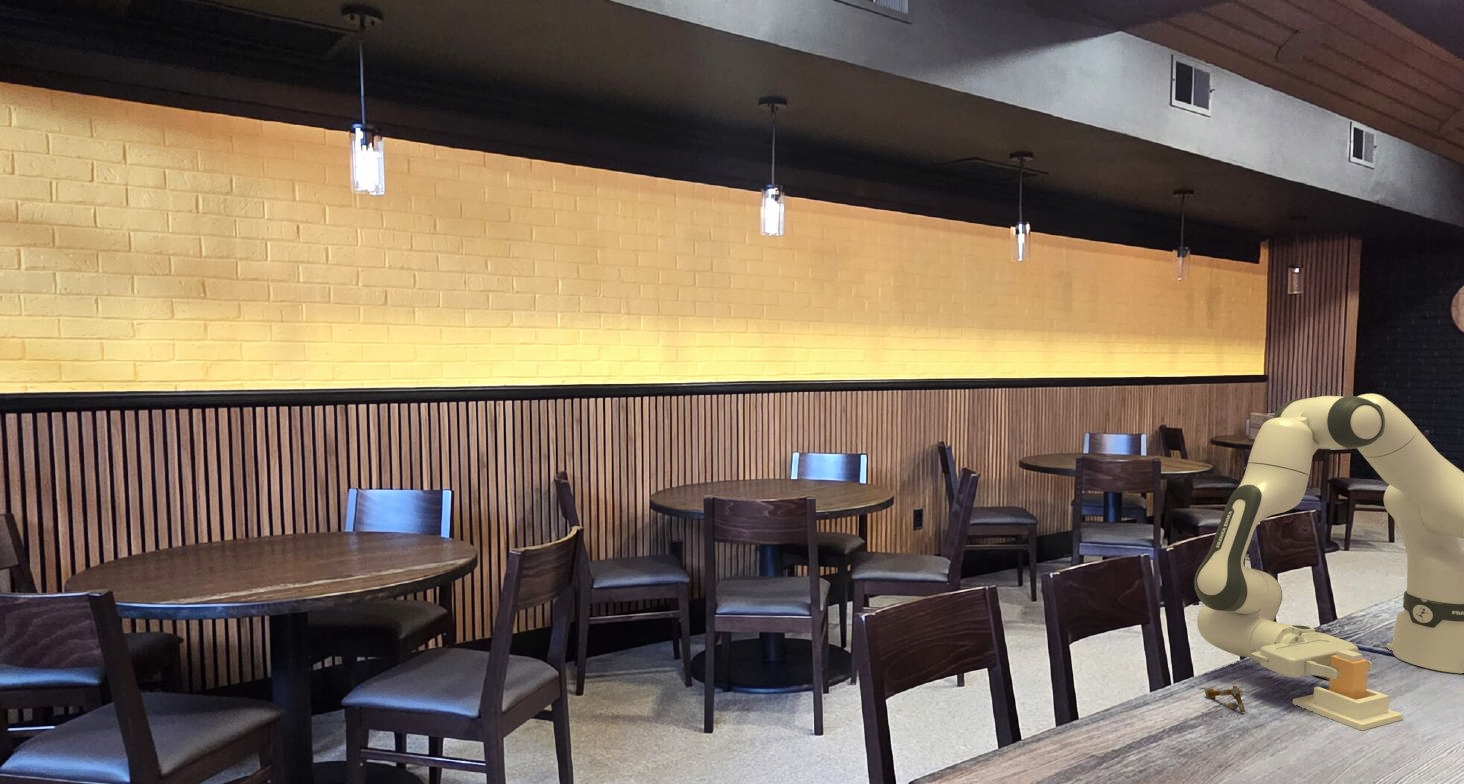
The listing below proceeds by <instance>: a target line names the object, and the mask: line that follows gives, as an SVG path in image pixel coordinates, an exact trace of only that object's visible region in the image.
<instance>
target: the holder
mask: <svg viewBox="0 0 1464 784" xmlns="http://www.w3.org/2000/svg"><path fill="white" fill-rule="evenodd" d="M1389 703H1390V695H1387V694H1385V693H1382V692H1379V691H1375V690H1373V689H1370V688H1367V687H1366V697H1365V698H1361V699H1357V700H1355V699H1352V698H1349V697H1346V696H1343V695H1341V694H1338V693H1335V692H1332V691H1329V689H1326V688H1323V687H1321V686H1315V687H1314V688H1313V694H1310V695H1306V696H1300V697H1296V698H1293V699H1292V705H1293V704H1294V705H1293V706H1296V705H1298V706H1300V707H1299V708H1301V707H1302V709H1304V708H1306V709H1307V711H1310V712H1311V711H1313V712H1312V713H1315V714H1317V715H1319V714H1320V715H1319V716H1322V717H1324V716H1326V717H1325V718H1327V717H1328V719H1329V720H1332V719H1333V720H1332V721H1336V722H1337V723H1339V724H1340V723H1341V724H1343V725H1346V726H1349V727H1351V728H1354V729H1356V730H1359V731H1361V732H1362V731H1365V730H1370V729H1372V728H1376V727H1380V726H1384V725H1387V724H1388V725H1389V724H1391V723H1397V722H1399V721H1403V719H1404V718H1403V717H1404V714H1402V713H1401V712H1397V711H1395V710H1392V709H1390V708H1389ZM1298 706H1297V707H1298ZM1306 709H1305V710H1306Z"/></svg>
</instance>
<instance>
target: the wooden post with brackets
mask: <svg viewBox="0 0 1464 784" xmlns="http://www.w3.org/2000/svg"><path fill="white" fill-rule="evenodd" d="M1242 692H1243V689H1242V688H1241V687H1238V686H1237V685H1233V686H1232V688H1230V689H1229V688H1228V689H1221V690H1215V689H1214V688H1212V687H1211V688H1204V694H1205V698H1206V699H1216V698H1217V696H1232V697H1233V698H1234V699H1235V700H1236V702H1231V703H1230V702H1229V703H1227V705H1226V707H1227V708H1228V709H1229V708H1231V709H1232V710H1237V709H1238V708H1239V712H1240V713H1246V709H1245V704H1244V703H1243V700H1242V697H1241V694H1243V693H1242Z"/></svg>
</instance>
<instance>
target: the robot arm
mask: <svg viewBox="0 0 1464 784" xmlns="http://www.w3.org/2000/svg"><path fill="white" fill-rule="evenodd" d="M1344 448H1346V449H1357V450H1358V451H1359V453H1360V454H1361V455H1362V456H1363V457H1364V458H1365V459H1364V460H1366V461H1367V462H1368V463H1369V465H1370V466H1371V467H1372V468H1373V469H1374V470H1375V472H1376V473H1377V474H1378V476H1379V477H1380V478H1381V479H1382V480H1383V481H1384V482H1385V483H1386V484H1387V485H1388V486H1387V487H1386V489H1385V492H1384V494H1383V505H1384V508H1385V510H1386V512H1387V513H1388V514H1389V515H1390V516H1391V517H1392V519H1393V520H1394V521H1395V523H1396V525H1397V527H1398V529H1399V532H1400V534H1401V536H1402V537H1401V538H1402V539H1403V543H1404V547H1405V552H1406V559H1407V561H1406V562H1407V566H1406V567H1407V569H1406V571H1407V577H1406V590H1405V591H1404V593H1403V597H1402V602H1403V603H1402V608H1403V609H1404V610H1403V611H1401V612H1399V613H1397V614H1396V619H1395V625H1394V631H1393V637H1392V642H1387V643H1386V647H1387V648H1388V649H1389V650H1388V649H1387V648H1386V647H1385V648H1386V649H1387V650H1388V651H1390V650H1392V651H1393V652H1392V651H1391V652H1392V654H1393V656H1395V657H1396V658H1397V659H1399V660H1401V661H1403V662H1406V663H1409V664H1411V665H1415V666H1419V667H1422V668H1425V669H1429V670H1434V671H1438V672H1445V673H1452V674H1462V673H1464V550H1463V548H1462V546H1461V545H1460V541H1459V539H1464V471H1462V470H1461V469H1460V468H1458V467H1457V466H1455V465H1454V464H1453V463H1451V462H1450V461H1449V460H1448V459H1446V458H1445V457H1444V455H1441V453H1440V452H1438V451H1437V449H1435V447H1434V446H1433V445H1432V444H1431V443H1430V442H1429V440H1428V439H1427V438H1426V437H1425V435H1424V434H1423V433H1422V432H1421V431H1420V430H1419V429H1418V427H1417V426H1416V425H1415V424H1414V423H1413V421H1412V420H1411V419H1410V418H1409V417H1408V416H1407V415H1406V414H1405V413H1404V412H1403V411H1402V410H1401V409H1400V408H1399V407H1398V406H1396V405H1395V404H1394V403H1393V402H1392V401H1390V400H1389V399H1387V398H1386V397H1385V396H1383V395H1381V394H1377V393H1365V394H1360V395H1358V396H1354V395H1347V396H1346V395H1345V396H1340V395H1339V396H1337V395H1323V396H1322V395H1321V396H1316V397H1309V398H1308V397H1307V398H1295V399H1292V400H1288V401H1286V402H1284V403H1282V404H1281V405H1280V406H1279V407H1278V408H1277V409H1276V411H1275V412H1274V415H1273V416H1272V418H1269V419H1268V420H1266V421H1265V422H1264V423H1263V424H1262V425H1261V427H1260V429H1259V431H1258V433H1257V434H1256V436H1255V439H1254V442H1253V444H1252V448H1251V450H1250V454H1249V457H1248V460H1247V465H1246V469H1245V472H1244V475H1243V478H1242V480H1241V482H1240V483H1239V485H1238V487H1237V488H1235V490H1234V491H1233V492H1232V494H1231V495H1230V496H1229V498H1228V501H1227V503H1226V505H1225V507H1224V511H1223V514H1222V516H1221V518H1220V521H1219V523H1218V526H1217V529H1216V532H1215V534H1214V538H1213V541H1212V543H1211V545H1210V547H1209V551H1208V553H1207V555H1206V556H1205V558H1204V560H1202V562H1201V563H1200V565H1199V566H1198V568H1197V570H1196V572H1195V575H1194V590H1195V593H1196V596H1197V597H1198V600H1199V601H1200V602H1201V603H1202V604H1203V605H1204V606H1203V607H1202V608H1201V609H1200V610H1199V612H1198V614H1197V619H1196V623H1197V624H1196V625H1197V626H1196V627H1197V629H1198V632H1199V634H1200V636H1201V637H1202V638H1203V639H1204V641H1206V642H1207V643H1209V644H1210V645H1212V646H1213V647H1216V648H1218V649H1220V650H1221V651H1224V652H1227V653H1230V654H1232V655H1235V656H1238V657H1245V658H1249V659H1250V660H1252V661H1254V662H1255V663H1258V664H1260V666H1262V667H1264V668H1265V669H1267V670H1270V671H1272V672H1275V673H1276V674H1280V675H1281V676H1285V677H1289V678H1299V677H1303V676H1308V675H1311V676H1316V677H1317V676H1318V677H1319V676H1325V677H1328V678H1331V679H1336V678H1339V677H1340V670H1339V669H1338V668H1335V667H1332V666H1331V656H1334V655H1337V651H1341V650H1346V649H1347V650H1350V651H1353V652H1356V653H1359V647H1358V646H1357V645H1356V644H1354V643H1352V642H1350V641H1347V640H1346V639H1341V638H1339V637H1336V636H1333V635H1330V634H1327V633H1322V632H1318V631H1316V628H1315V627H1311V626H1308V625H1294V624H1293V625H1292V624H1287V623H1284V622H1283V623H1282V622H1277V621H1275V620H1276V617H1277V615H1278V613H1279V610H1280V607H1281V604H1282V600H1283V591H1282V587H1281V584H1280V583H1279V582H1278V580H1277V579H1276V578H1275V577H1274V576H1273V575H1272V574H1270V573H1268V572H1265V571H1263V570H1260V569H1259V570H1258V569H1255V568H1252V567H1247V566H1245V565H1244V564H1245V563H1244V561H1245V557H1246V555H1247V552H1248V549H1249V546H1250V544H1251V541H1252V538H1253V535H1254V533H1255V530H1256V528H1257V526H1258V524H1259V523H1260V522H1261V521H1263V520H1264V519H1266V518H1267V517H1270V516H1273V515H1278V514H1281V513H1285V512H1286V513H1287V511H1290V510H1292V509H1294V508H1295V507H1297V506H1299V504H1300V503H1301V501H1302V500H1303V498H1304V496H1305V493H1306V491H1307V487H1308V483H1309V479H1310V478H1309V477H1310V474H1311V468H1312V461H1313V456H1314V455H1315V453H1316V452H1317V451H1318V450H1320V449H1321V450H1329V449H1330V450H1332V449H1344ZM1458 538H1459V539H1458ZM1372 670H1373V663H1372V662H1371V661H1370V660H1368V669H1367V672H1370V671H1371V672H1372Z"/></svg>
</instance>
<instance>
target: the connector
mask: <svg viewBox="0 0 1464 784" xmlns="http://www.w3.org/2000/svg"><path fill="white" fill-rule="evenodd" d="M1363 656H1364V654H1362V653H1359V652H1358V653H1356V652H1353V651H1350V650H1347V649H1346V650H1341V651H1337V655H1334V656H1331V666H1332V667H1335V668H1338V669H1339V670H1340V677H1339V678H1336V679H1331V678H1330V680H1329V687H1328V688H1329V689H1328V690H1329V691H1332V692H1335V693H1338V694H1341V695H1343V696H1346V697H1349V698H1352V699H1355V700H1357V699H1361V698H1365V697H1366V688H1367V684H1368V671H1367V669H1368V661H1369V660H1367V659H1364V658H1363Z"/></svg>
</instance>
